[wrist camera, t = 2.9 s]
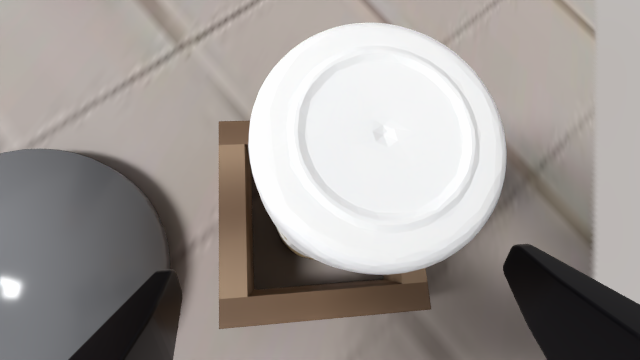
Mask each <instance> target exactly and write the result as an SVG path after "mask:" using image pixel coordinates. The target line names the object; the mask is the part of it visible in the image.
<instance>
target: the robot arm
mask: <svg viewBox="0 0 640 360" xmlns="http://www.w3.org/2000/svg"><path fill="white" fill-rule="evenodd" d="M503 271H504V275H505V277H506V279H507V281H508V283H509V286H510V288H511V290H512V292H513V294H514V297H515V299H516V301H517V303H518V305H519V308H520V310H521V312H522V314H523V316H524V319H525V321H526V323H527V325H528V327H529V329H530V330H531V332H532V334H533V336H534V338H535V339H536V341H537V343H538V345H539V346H540V348H541V350H542V352H543V353H544V355H545V357H546V359H547V360H640V305H639V304H638V303H636V302H634V301H632V300H630V299H629V298H626V297H625V296H623V295H621V294H619V293H618V292H616V291H614V290H612V289H610V288H608V287H607V286H604V285H603V284H601V283H599V282H598V281H596V280H594V279H592V278H590V277H589V276H587V275H585V274H583V273H581V272H579V271H578V270H576V269H574V268H572V267H570V266H569V265H567V264H565V263H563V262H561V261H559V260H558V259H556V258H554V257H552V256H550V255H549V254H547V253H545V252H543V251H541V250H540V249H538V248H536V247H534V246H532V245H530V244H519V245H514V246H513V247H512V248H511V250H510V252H509V254H508V256H507V258H506V261H505V263H504V265H503ZM181 303H182V290H181V287H180V284H179V281H178V277H177V274H176V272H175V270H173V269H167V270H158V271H156V272H154V273H153V274H152V275H151V276H150V277H149V278H148V279H147V280H146V281H145V282H144V283H143V284H142V285H141V286H140V287H139V288H138V289H137V290H136V291H135V292H134V293H133V294H132V295H131V296H130V297H129V298H128V299H127V300H126V301H125V302H124V303H123V304H122V305H121V306H120V307H119V308H118V309H117V310H116V312H115V313H114V314H113V315H112V316H111V317H110V318H109V319H108V320H107V321H106V322H105V323H104V324H103V325H102V326H101V327H100V328H99V329H98V330H97V331H96V332H95V333H94V334H93V335H92V336H91V337H90V338H89V339H88V340H87V341H86V342H85V343H84V344H83V345H82V346H81V347H80V348H79V349H78V350H77V351H76V352H75V353H74V354H73V355H72V356H71V357H70V358H69V359H68V360H173V355H174V349H175V343H176V336H177V329H178V323H179V316H180V309H181Z"/></svg>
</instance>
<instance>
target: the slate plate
mask: <svg viewBox="0 0 640 360" xmlns="http://www.w3.org/2000/svg"><path fill="white" fill-rule="evenodd" d="M167 269H170V255H169V247H168V241H167V237H166V234H165V230H164V227H163V224H162V222H161V220H160V218H159V215H158V213H157V211H156V210H155V208H154V207H153V205H152V203H151V202H150V200H149V199H148V198H147V197H146V195H145V194H144V193H143V192H142V191H141V189H140V188H139V187H137V186H136V185H135V184H134V183H133V182H132V181H131V180H129V179H128V178H127V177H125V176H124V175H122V174H121V173H119V172H118V171H116V170H114V169H112V168H110V167H108V166H106V165H104V164H102V163H100V162H98V161H96V160H94V159H92V158H89V157H86V156H83V155H80V154H77V153H72V152H67V151H62V150H53V149H24V150H17V151H11V152H4V153H1V154H0V360H68V359H69V358H70V357H71V356H72V355H73V354H74V353H75V352H76V351H77V350H78V349H79V348H80V347H81V346H82V345H83V344H84V343H85V342H86V341H87V340H88V339H89V338H90V337H91V336H92V335H93V334H94V333H95V332H96V331H97V330H98V329H99V328H100V327H101V326H102V325H103V324H104V323H105V322H106V321H107V320H108V319H109V318H110V317H111V316H112V315H113V314H114V313H115V312H116V310H117V309H118V308H119V307H120V306H121V305H122V304H123V303H124V302H125V301H126V300H127V299H128V298H129V297H130V296H131V295H132V294H133V293H134V292H135V291H136V290H137V289H138V288H139V287H140V286H141V285H142V284H143V283H144V282H145V281H146V280H147V279H148V278H149V277H150V276H151V275H152V274H153V273H154V272H156V271H158V270H167Z"/></svg>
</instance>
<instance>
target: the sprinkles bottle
mask: <svg viewBox="0 0 640 360" xmlns="http://www.w3.org/2000/svg"><path fill="white" fill-rule="evenodd" d="M248 148H249V158H250V164H251V169H252V174H253V177H254V180H255V184H256V187H257V189H258V192H259V195H260V197H261V200H262V202H263V204H264V207H265V209H266V211H267V212H268V214H269V216H270V218H271V219H272V221H273V223H274V224H275V225H276V228H277V232H278V234H279V236H280V238H281V240H282V242H283V243H284V244H285V245H286V246H287V247H288V248H289V249H290V250H291V251H293V252H294V253H296V254H297V255H299V256H301V257H305V258H309V259H315V260H317V261H319V262H321V263H324V264H326V265H329V266H331V267H335V268H339V269H342V270H347V271H351V272H357V273H364V274H375V275H390V274H400V273H407V272H412V271H416V270H419V269H423V268H426V267H429V266H431V265H434V264H436V263H438V262H441V261H443V260H445V259H447V258H448V257H450V256H451V255H453V254H455V253H456V252H458V251H459V250H461V249H462V248H463V247H464V246H465V245H467V244H468V243H469V242H470V241H471V240H472V239H473V238H474V237H475V236H476V235H477V234H478V232H479V231H480V230H481V229H482V228H483V226H484V225H485V224H486V222H487V220H488V219H489V217H490V216H491V214H492V212H493V210H494V208H495V206H496V205H497V202H498V200H499V198H500V195H501V191H502V187H503V183H504V179H505V172H506V161H507V149H506V141H505V133H504V129H503V125H502V122H501V118H500V115H499V112H498V109H497V107H496V105H495V103H494V100H493V98H492V96H491V95H490V93H489V91H488V89H487V87H486V86H485V85H484V83H483V82H482V80H481V79H480V78H479V76H478V75H477V74H476V73H475V72H474V70H473V69H472V68H471V67H470V66H469V65H468V64H467V63H466V62H465V61H464V60H463V59H462V58H461V57H459V56H458V55H457V54H456V53H455V52H454V51H452V50H451V49H449V48H448V47H447V46H445V45H443V44H442V43H440V42H438V41H437V40H435V39H433V38H431V37H429V36H427V35H425V34H422V33H420V32H417V31H415V30H412V29H408V28H405V27H401V26H396V25H391V24H384V23H354V24H347V25H343V26H338V27H334V28H331V29H328V30H326V31H323V32H320V33H318V34H316V35H314V36H312V37H310V38H308V39H306V40H305V41H303V42H302V43H300V44H299V45H297V46H296V47H294V48H293V49H292V50H291V51H290V52H288V53H287V54H286V55H285V56H284V57H283V58H282V59H281V60H280V61H279V62H278V63H277V65H276V66H275V67H274V68H273V69H272V70H271V72H270V74H269V75H268V76H267V78H266V79H265V81H264V83H263V85H262V87H261V88H260V90H259V93H258V96H257V98H256V101H255V104H254V107H253V110H252V115H251V119H250V127H249V143H248Z"/></svg>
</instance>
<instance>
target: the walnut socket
mask: <svg viewBox="0 0 640 360" xmlns="http://www.w3.org/2000/svg"><path fill="white" fill-rule="evenodd" d="M249 127H250V121H220V122H219V329H224V328H235V327H246V326H257V325H268V324H278V323H289V322H300V321H311V320H322V319H332V318H343V317H354V316H365V315H375V314H386V313H397V312H408V311H419V310H429V309H431V305H430V297H429V290H428V282H427V275H426V268H423V269H419V270H416V271H412V272H407V273H400V274H390V275H383V277H384V279H382V280H369V281H357V282H345V283H332V284H320V285H308V286H295V287H283V288H271V289H258V290H254V266H253V224H252V182H251V164H250V158H249V148H248V143H249Z"/></svg>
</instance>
